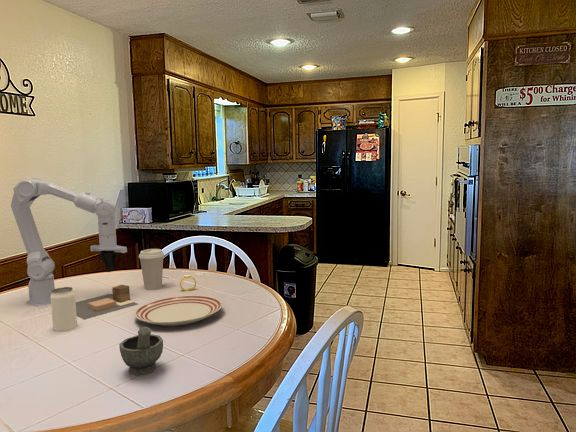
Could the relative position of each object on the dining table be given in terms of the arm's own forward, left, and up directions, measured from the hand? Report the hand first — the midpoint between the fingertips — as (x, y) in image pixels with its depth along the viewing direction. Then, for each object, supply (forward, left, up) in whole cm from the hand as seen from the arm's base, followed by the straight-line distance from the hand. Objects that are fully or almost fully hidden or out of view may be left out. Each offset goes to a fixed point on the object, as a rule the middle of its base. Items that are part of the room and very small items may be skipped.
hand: (110, 271), depth 161 cm
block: (+7, 0, -10) cm, 12 cm away
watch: (+15, +23, -10) cm, 29 cm away
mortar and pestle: (+61, -24, -10) cm, 66 cm away
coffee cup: (+2, +16, -10) cm, 19 cm away
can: (+18, -24, -10) cm, 32 cm away
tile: (+6, -8, -8) cm, 13 cm away
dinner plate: (+36, +4, -10) cm, 38 cm away
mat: (+6, -8, -10) cm, 14 cm away
